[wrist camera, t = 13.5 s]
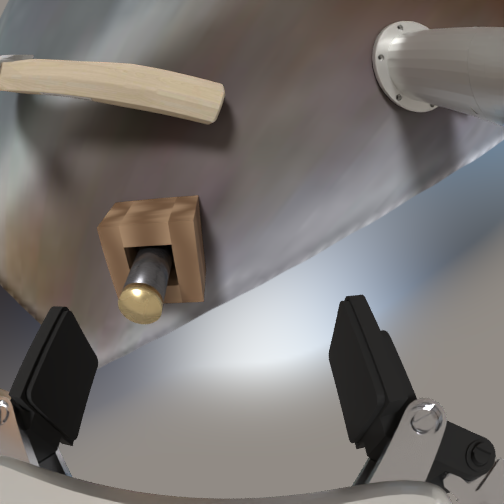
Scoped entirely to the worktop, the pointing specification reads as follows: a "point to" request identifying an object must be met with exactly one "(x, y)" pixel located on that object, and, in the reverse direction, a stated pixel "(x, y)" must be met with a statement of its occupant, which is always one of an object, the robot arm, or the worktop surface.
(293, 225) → the worktop surface
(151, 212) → the socket block
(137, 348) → the worktop surface
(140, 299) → the dark grey capped cylinder
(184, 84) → the hammer
